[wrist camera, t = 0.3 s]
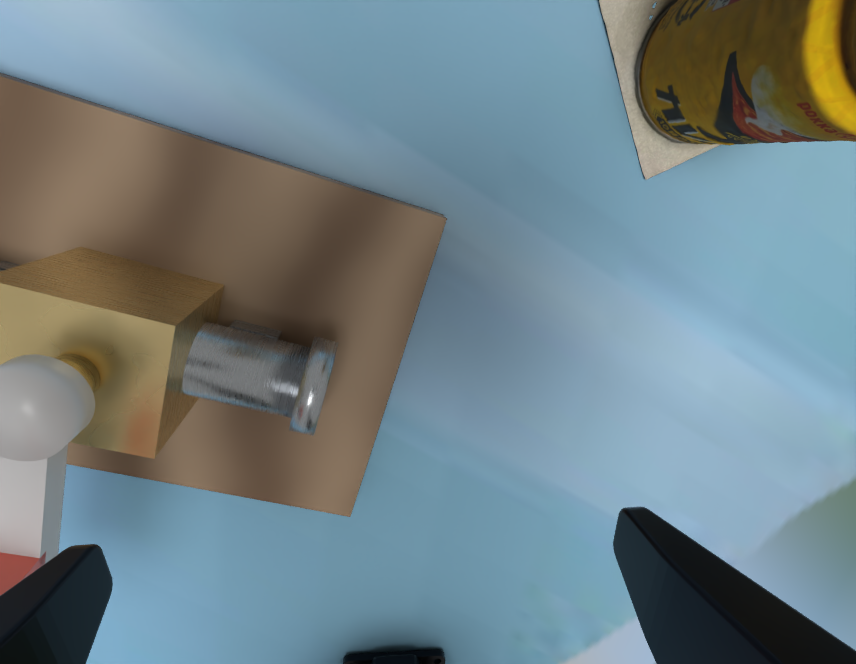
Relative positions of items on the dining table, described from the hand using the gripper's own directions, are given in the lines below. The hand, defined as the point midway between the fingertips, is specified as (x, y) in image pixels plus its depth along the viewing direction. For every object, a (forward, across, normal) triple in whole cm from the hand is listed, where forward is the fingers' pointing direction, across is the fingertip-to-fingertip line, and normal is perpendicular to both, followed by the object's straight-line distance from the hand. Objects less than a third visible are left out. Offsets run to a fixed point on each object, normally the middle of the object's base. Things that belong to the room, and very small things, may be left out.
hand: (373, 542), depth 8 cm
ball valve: (+14, +10, +1) cm, 17 cm away
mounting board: (+15, +10, +1) cm, 18 cm away
